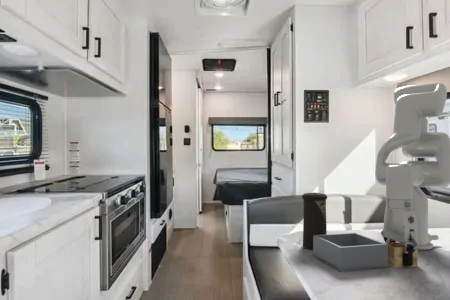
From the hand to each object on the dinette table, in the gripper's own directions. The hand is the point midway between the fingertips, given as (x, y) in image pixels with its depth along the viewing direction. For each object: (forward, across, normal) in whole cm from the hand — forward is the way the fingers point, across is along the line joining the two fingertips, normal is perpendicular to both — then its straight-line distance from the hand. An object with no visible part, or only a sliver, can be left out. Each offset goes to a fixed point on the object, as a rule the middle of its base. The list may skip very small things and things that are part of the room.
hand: (399, 262), depth 109 cm
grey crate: (+1, +6, +14) cm, 15 cm away
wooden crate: (+1, 0, 0) cm, 1 cm away
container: (+1, +24, +16) cm, 29 cm away
